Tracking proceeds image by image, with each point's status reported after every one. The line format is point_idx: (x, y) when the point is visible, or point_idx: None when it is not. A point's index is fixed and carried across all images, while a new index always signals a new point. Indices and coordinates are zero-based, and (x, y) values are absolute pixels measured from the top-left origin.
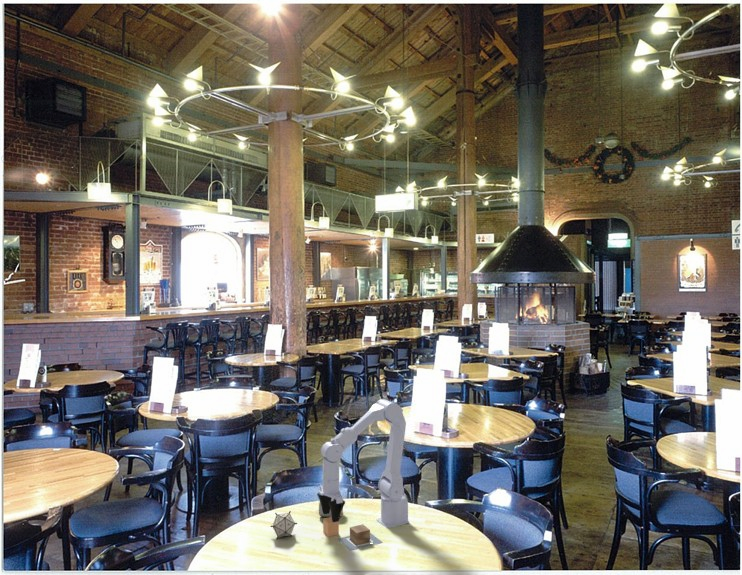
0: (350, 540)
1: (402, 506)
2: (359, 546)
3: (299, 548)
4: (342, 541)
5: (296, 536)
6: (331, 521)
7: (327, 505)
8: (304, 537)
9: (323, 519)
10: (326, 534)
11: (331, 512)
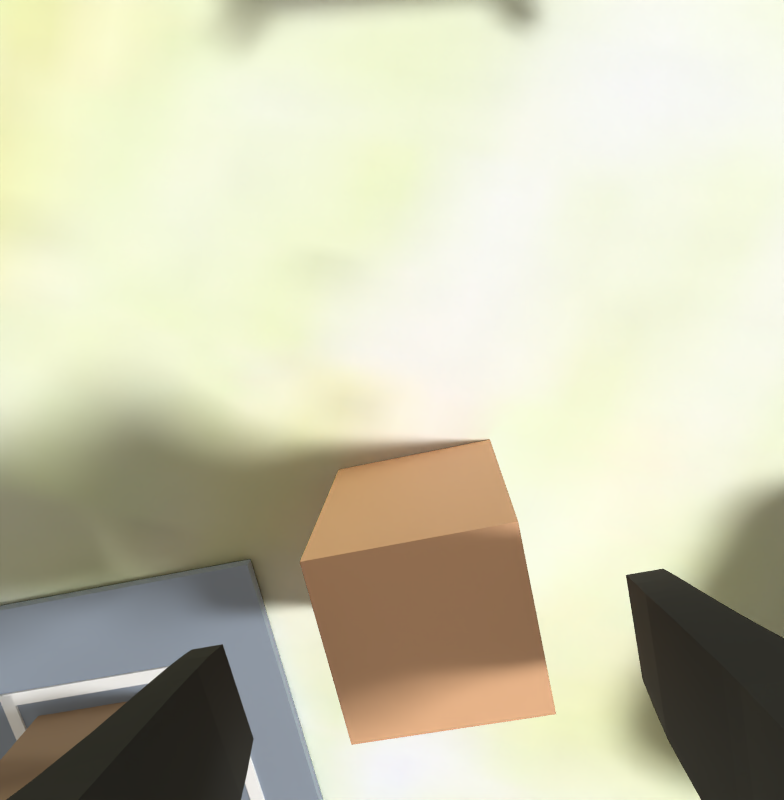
0: None
1: None
2: (4, 732)
3: (98, 23)
4: (156, 602)
5: (501, 32)
6: (343, 628)
7: (727, 791)
8: (430, 154)
9: (511, 517)
10: (388, 466)
11: (70, 783)
